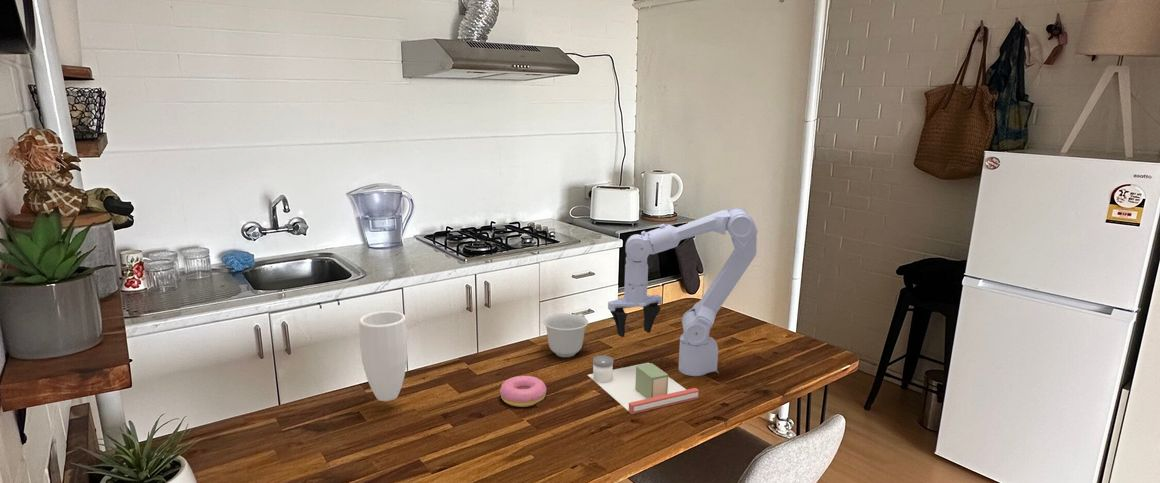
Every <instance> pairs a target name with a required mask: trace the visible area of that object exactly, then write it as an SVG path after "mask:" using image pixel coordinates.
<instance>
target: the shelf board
mask: <svg viewBox="0 0 1160 483" xmlns="http://www.w3.org/2000/svg"><path fill="white" fill-rule="evenodd" d="M645 364H650V362H644V363H640V364H634V365H630V366H626V367H624V366H623V367H620V368H615V369H613V376H612V381H610V382H607V383H599V382H596V381H594V380H593V373H589V374H587V376H588V377H589V378H590V379H591V380H592V381H594V383H595V384H597V385H598V386H599V387H600V388H601V389H602V390H604V391H605V392H606V393H607V394H609V396H611V397H612V398H613V399H614V400H615V401H616V402H617V403H618V404H620V405H621V406H622V407H623V408H624V409H625V410H626V411H627V412H629V413H630V414H632V415H636V414H639V413H643V412H649V411H651V410H655V409H656V410H657V409H660V408H664V407H669V406H673V405H677V404H681V403H682V404H683V403H685V402H690V401H693V400H697V399H699V397H700V396H699V395H700V389H698V388H696V387H693V388H688V389H686V388H685V387H683V386H682V385H681V384H679V383H678V382H677V381H675V380H674V379H673V378H672V377H669V376H668V390H667V394H666V395H661V396H657V397H652V398H648V399H646V398H645V397H644V396H643V395H641V394H640V393H639V392H638V391H636V390H635V385H636V366H640V365H645Z"/></svg>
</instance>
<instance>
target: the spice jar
mask: <svg viewBox="0 0 1160 483" xmlns="http://www.w3.org/2000/svg"><path fill="white" fill-rule="evenodd" d="M592 363H593V364H592V365H593V366H592V367H593V368H592V374H593V380H592V381H593V382H595V381H596V382H599V383H607V382H610V381H612V376H613V370H614V369H613V368H614V367H613V366H614V358H613V357H611V356H609V355H601V354H600V355H597V356H594V357H593V359H592ZM596 382H595V383H596Z"/></svg>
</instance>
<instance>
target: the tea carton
mask: <svg viewBox="0 0 1160 483" xmlns="http://www.w3.org/2000/svg"><path fill="white" fill-rule="evenodd" d="M649 363H650V362H649ZM668 377H669V374H668V373H667V372H665V371H663V369H661V368H660V367H658V366H657V365H656V364H653V363H650V364H645V365H640V366H636V385H635V390H636V391H638V392H639V393H640V394H641V395H643V396H644V397H645V398H646V399H648V398H652V397H657V396H661V395H666V394H667V390H668Z"/></svg>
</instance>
